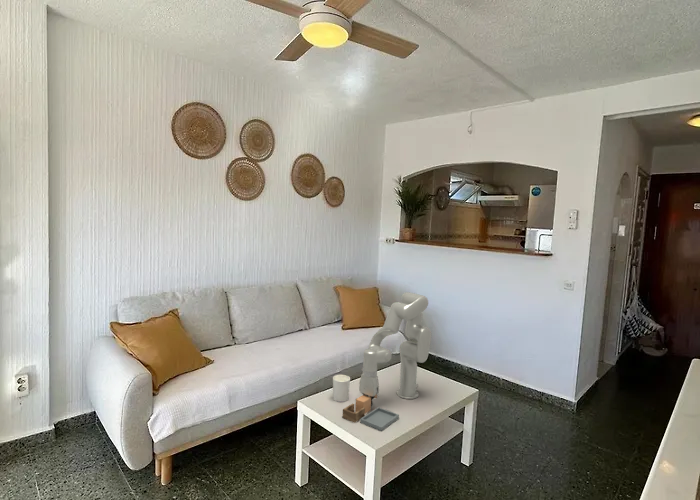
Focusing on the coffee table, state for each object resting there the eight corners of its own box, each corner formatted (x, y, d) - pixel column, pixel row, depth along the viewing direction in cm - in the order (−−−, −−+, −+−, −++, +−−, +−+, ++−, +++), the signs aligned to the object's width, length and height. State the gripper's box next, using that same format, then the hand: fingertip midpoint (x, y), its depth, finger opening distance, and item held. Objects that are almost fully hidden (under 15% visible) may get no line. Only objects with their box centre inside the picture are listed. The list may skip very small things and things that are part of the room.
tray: (378, 410, 208) (378, 406, 208) (398, 418, 200) (399, 414, 200) (360, 422, 194) (360, 418, 194) (381, 431, 187) (381, 427, 187)
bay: (352, 411, 205) (352, 403, 205) (364, 416, 201) (364, 408, 200) (342, 417, 199) (342, 409, 198) (354, 422, 194) (355, 414, 194)
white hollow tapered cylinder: (335, 403, 214) (336, 382, 213) (329, 396, 223) (330, 375, 222) (352, 401, 218) (353, 380, 217) (345, 393, 227) (346, 373, 226)
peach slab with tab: (367, 404, 214) (367, 392, 213) (374, 407, 211) (375, 395, 210) (355, 412, 205) (355, 399, 205) (363, 415, 202) (363, 402, 202)
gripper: (354, 371, 211) (353, 404, 212) (378, 378, 201) (376, 413, 203) (362, 367, 217) (361, 399, 218) (385, 374, 207) (384, 408, 209)
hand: (368, 405), depth 210 cm, fingers closed on peach slab with tab, 1 cm apart
